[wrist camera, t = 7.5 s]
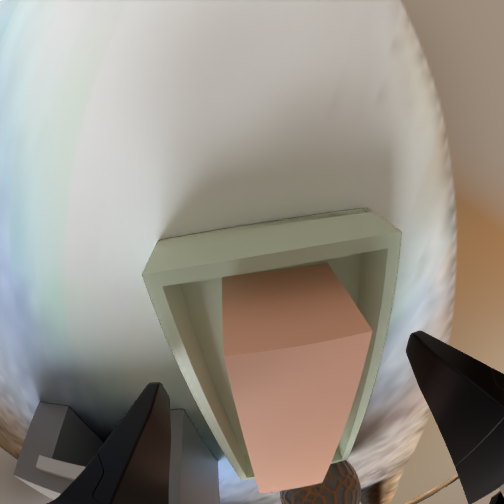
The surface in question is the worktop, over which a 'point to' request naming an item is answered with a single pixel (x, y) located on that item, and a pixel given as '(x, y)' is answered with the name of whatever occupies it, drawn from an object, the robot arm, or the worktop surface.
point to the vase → (328, 488)
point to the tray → (260, 260)
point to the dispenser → (88, 444)
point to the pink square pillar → (292, 368)
